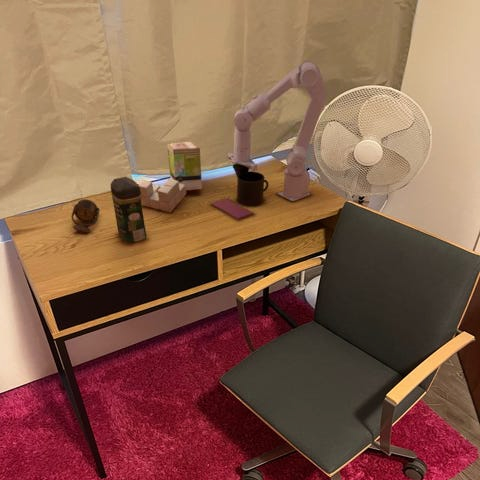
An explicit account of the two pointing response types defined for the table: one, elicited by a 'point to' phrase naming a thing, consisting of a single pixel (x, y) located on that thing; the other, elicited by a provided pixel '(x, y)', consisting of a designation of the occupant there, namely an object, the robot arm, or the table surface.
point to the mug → (251, 188)
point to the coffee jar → (128, 209)
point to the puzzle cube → (162, 194)
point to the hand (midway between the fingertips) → (241, 183)
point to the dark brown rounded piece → (85, 215)
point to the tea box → (185, 164)
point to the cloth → (232, 209)
